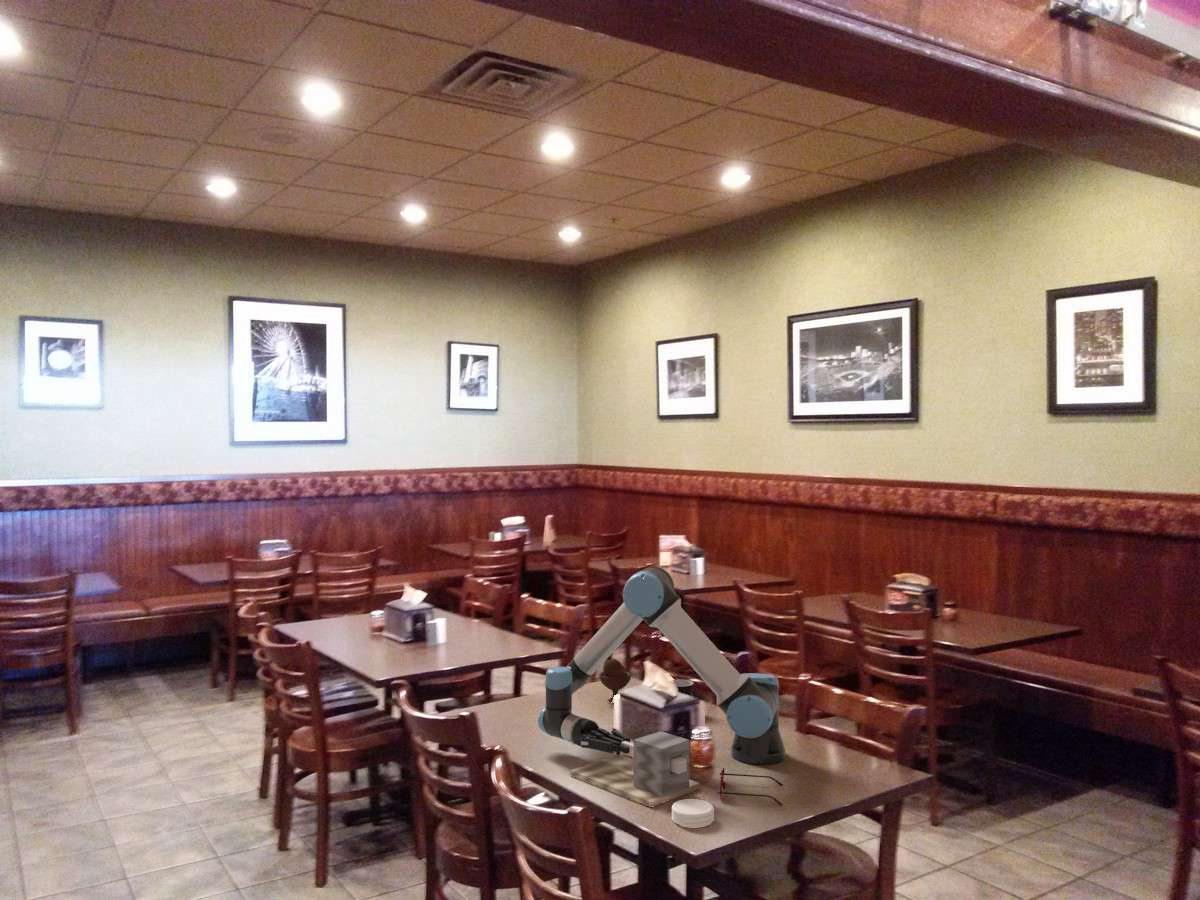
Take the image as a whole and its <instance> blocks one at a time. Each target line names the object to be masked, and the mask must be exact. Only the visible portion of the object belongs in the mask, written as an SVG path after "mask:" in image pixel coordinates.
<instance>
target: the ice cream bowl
mask: <svg viewBox="0 0 1200 900" xmlns="http://www.w3.org/2000/svg"><path fill="white" fill-rule="evenodd" d="M598 676H599V680H600V682H601V684H602V685H603V686H604V687H605V688H607V689H609V690H610V691H611V692H612V696H611V697H610V698H609V699H608V700H607V701H609V702H610V703H611V702H612V700H613V697H614V695H616V694H617V693H619V691H620V690H622V689H623V688H625V687H626V686H627V685H628V684H629V683H630V681H631V678H632V674H631V673H630V672H629V671H626V668H625V666H624V665H623V664H622V663H621V662H620V661H619V660H618V659H616V658H610V659H606V661H605V662H604V663H603V669H602V672H601V673H599V674H598ZM610 703H609V704H610Z"/></svg>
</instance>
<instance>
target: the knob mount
mask: <svg viewBox="0 0 1200 900" xmlns="http://www.w3.org/2000/svg"><path fill="white" fill-rule="evenodd" d="M633 744H634V761H633V758H630V757H627V756H624V755H622V754H620V755H616V754H615V755H613V756H611V757H607V758H604V759H601V760H597V761H594V762H592V763H589V764H586V765H583V766H580V767H575V768H574V769H570V776H571V775H572V776H574V777H573V778H575V777H577V778H579V779H578V780H580V779H581V780H580V781H582V780H583V782H585V781H587V782H590V783H591V784H590V783H589V784H590V785H592V784H594V785H593V786H595V785H597V786H599V787H598V788H600V787H602V788H604V789H603V790H605V789H607V790H609V791H608V792H610V791H612V792H614V793H613V794H615V793H616V794H615V795H617V794H619V795H618V796H620V795H621V796H620V797H622V796H624V797H623V798H625V797H627V798H629V799H628V800H630V799H632V800H635V801H638V802H640V803H643V804H645V805H647V806H650V807H652V806H655V805H657V804H660V803H662V802H664V801H667V800H670V799H673V798H675V799H677V798H676V797H678V798H680V797H683V796H685V794H686V795H688V794H691V793H693V792H695V790H696V791H698V790H700V789H701V783H700V782H698V781H696V780H693V779H690V740H689V739H687V738H684V737H681V736H678V735H674V734H673V733H672V734H670V733H667V732H665V731H662V730H661V731H660V730H659V731H657V732H653V733H649V734H647V735H643V736H641V737H637V738H635V739H633ZM676 756H678V757H682V758H685V759H687V771H686V772H683V773H681V774H677V773H674V772H671V763H670V758H673V757H676ZM572 776H571V777H572ZM577 778H576V779H577ZM587 782H586V783H587ZM597 786H596V787H597ZM602 788H601V789H602ZM607 790H606V791H607ZM692 791H693V792H692ZM612 792H611V793H612ZM690 792H691V793H690ZM687 793H688V794H687ZM682 795H683V796H682ZM679 796H680V797H679ZM627 798H626V799H627ZM632 800H631V801H632ZM673 800H674V799H673ZM635 801H634V802H635ZM670 801H671V800H670ZM640 803H639V804H640ZM645 805H644V806H645ZM660 805H661V804H660ZM647 806H646V807H647ZM650 807H649V808H650ZM655 807H656V806H655Z"/></svg>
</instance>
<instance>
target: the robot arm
mask: <svg viewBox="0 0 1200 900" xmlns="http://www.w3.org/2000/svg"><path fill="white" fill-rule="evenodd" d="M622 599H623V602H622V604H621V605H620V606H618V608H617V610H615V612H613V614H612V615H611V616H610V617H609V618H608V619H607V621H606V622H605V623H604V624H603V625H602V626H601V627H600V629H598V630H597V631H596V633H595V634H594V635H593V636H592V637H591V638H590V639H589V641H588V642H587V643H586V644H585V645H584V646H583V648H581V650H579V652H578V653H576V655H575V656H574V657H572V659H571V660H570V661H569V663H568V664H567V665H566V666H553V667H550V668H548V669H547V670H546V673H545V680H544V684H545V707H544V708H543V709H541V711H540V712H539V716H538V718H537V724H538V728H539V729H540V730H541V731H542V732H543V733H545V734H547V735H549V736H550V737H555V738H557V739H561V740H563V741H566V742H568V743H571V744H572V745H576V746H578V747H581V748H583V749H584V748H585V749H590V750H595V751H600V752H604V753H608V754H614V752H615V756H616V755H621V753H622V754H625V755H628V756H629V757H633V749H634V743H632V742H631V737H628V736H627V735H625V734H624V733H621V731H618V730H617V728H612V729H611V730H610V731H607V730H606V729H604V728H601V727H599V724H597V722H596V721H595V720H591V719H588V718H586V717H583V716H580V715H576V714H574V713H572V709H573V701H572V699H573V698H572V697H573V695H574V694H575V693H576V692H577V691H578V690H580V689H582V688H584V686H585V685H586V684H587V682H588V680H589V679H590V678H591V677H592V676H593V675H594V674H595V673H596V671H597V670H598V669H599V668H601V666H603V665H604V664H605V662H606V661H607V660H608V658H609V657H610V656H611V655H612V654H613V653H614V652H615V651H616V650H617V648H619V646H620V645H621V644H622V643H623V642H624V641H625V640H626V639H627V638H628V637H629V635H631V633H632V632H633V631H634V630H635V629H637V627H638V626H639V625H640V623H642V622H643V621H644V623H646V625H648V627H650V628H657V629H658V630H659V631H660V632H661V633H662V634H663V636H664V637H665V638H666V639H667V640H668V641H669V643H670V644H671V645H672V646H673V647H674V649H676V650H677V652H678V653H679V654H680V655H681V657H682V658H683V659H684V660H685V661H686V662H687V663H688V664H689V666H690V668H691V667H692V669H693V670H694V672H696V674H697V675H698V676H699V677H700V678H701V679H702V680H703V682H704V683H705V684H706V686H708V688H709V689H711V691H712V692H713V693H714V694H715V696H716V705H717V706H718V708H719V709H720V710H721V711H722V712H723V713H724V714H725V716H726V720H727V724H728V725H729V728H730V729H731V731H732V732H734V733H735V734H734V737H733V740H732V743H731V747H730V749H731V750H730V752H731V753H730V755H731V757H732V758H733V759H734V760H737V761H739V762H743V763H746V764H752V765H773V764H777V763H780V762H782V761H784V760H785V759H786V748H785V744H784V741H783V738H782V735H781V732H780V727H779V726H780V725H779V723H780V722H779V721H780V718H779V717H780V716H779V714H780V712H779V711H780V709H779V708H780V707H779V705H780V704H779V703H780V702H779V700H780V699H779V688H780V685H779V679H778V677H777V676H775V675H772V674H768V673H757V672H754V673H751V672H750V673H748V672H747V673H740V672H739V671H738V670H737V669H736V668H735V667H734V666H733V665H732V664H731V663H730V661H729V660H728V659H727V658H726V656H724V654H722V652H721V651H720V650H719V649H718V648H717V646H716V645H715V644H714V643H713V642H712V641H711V640H710V639H709V637H708V636H707V635H706V634H705V633H704V631H702V629H701V628H700V627H699V626H698V625H697V624H696V623H695V621H694V620H693V619H692V618H691V617H690V616H689V614H688V613H687V612H686V611H685V609H683V608H682V606H681V605H682V599H681V597H680V596H679V595H678V594H677V593H676V591H675V583H674V580H673V577H672V575H671V574H670V572H668V571H667V570H666V569H664V568H662V567H660V566H649V567H645V568H644V569H642V570H640V571H638V572H635V573H634V574H633V575H631V576H630V578H628V580H627V581H626V583H625V585H624V587H623V590H622Z"/></svg>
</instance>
